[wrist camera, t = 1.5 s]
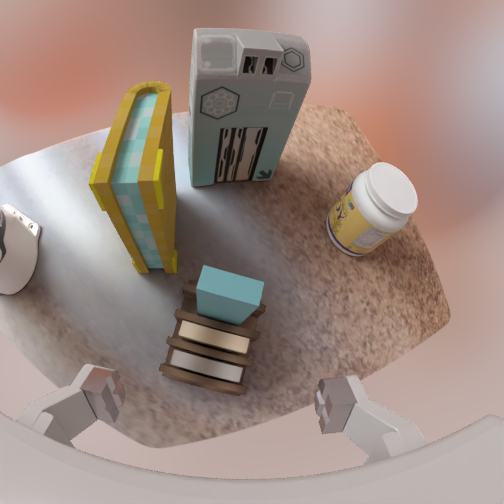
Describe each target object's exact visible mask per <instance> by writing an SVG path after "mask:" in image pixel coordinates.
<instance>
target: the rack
mask: <svg viewBox="0 0 504 504" xmlns="http://www.w3.org/2000/svg"><path fill="white" fill-rule="evenodd" d="M197 284H198V282H196V281H192V280H190V281H189V284H188V283H184V286H183V293H184V300H183V303H182V307H181V310H178V309H176V311H175V315H174V316H175V318H176V320H177V323H176V327H175V330H174V334H173V337H169V336H168V339H167V342H166V343H167V344H169V345H170V348H169V352H168V355H167V359H166V363H164V364H160V368H159V371H162V372H163V374H162V376H165V377H168V378H171V379H175V380H178V381H181V382H185V383H188V384H192V385H195V386H199V387H203V388H206V389H210V390H214V391H218V392H223V393H227V394H231V395H236V396H239V393H244V394H246V390H247V387H246V386H244V385H242V381H243V377H244V373H245V369H246V366H252V365H253V361H254V360H253V359H249V358H248V356H249V352H250V348H251V344H252V341H255V340H257V339H259V335H260V332H257V331H255V326H256V322H257V318H258V317H259V316H260V315H261V314H263V313H264V312H265V308H266V305H263V304H261V300H260V305H259V307H258V308H257V309H256V310H255V311H254V312H252V313H251V314H250V315H249V316H248V317H247V318H246V319H245V320H244V321H243V322H242V323H241V324H240V325H239V326H234V325H230V324H226V323H223V322H219V321H215V320H212V319H208V318H205V317H201V316H198V312H197V294H196V287H197ZM183 320H184V321H187V322H190V323H194V324H197V325H201V326H204V327H208V328H211V329H215V330H218V331H222V332H226V333H229V334H233V335H237V336H241V337H245V338H249V339H250V340H249V344H248V348H247V352H246V353H245V354H240V355H238V354H234V353H230V352H226V351H223V350H219V349H215V348H211V347H208V346H204V345H201V344H197V343H194V342H190V341H187V340H184V339H182V338H181V337H180V336H179V335H178V334H179V331H180V327H181V324H182V321H183ZM174 349H175V350H178V351H182V352H185V353H188V354H192V355H195V356H198V357H202V358H206V359H209V360H213V361H217V362H221V363H225V364H229V365H233V366H237V367H241V368H243V369H242V373H241V377H240V381H239V382H235V381H231V380H227V379H223V378H218V377H215V376H211V375H207V374H203V373H200V372H196V371H192V370H189V369H186V368H182V367H179V366H176V365H172V364H170V363H171V360H172V356H173V352H174Z"/></svg>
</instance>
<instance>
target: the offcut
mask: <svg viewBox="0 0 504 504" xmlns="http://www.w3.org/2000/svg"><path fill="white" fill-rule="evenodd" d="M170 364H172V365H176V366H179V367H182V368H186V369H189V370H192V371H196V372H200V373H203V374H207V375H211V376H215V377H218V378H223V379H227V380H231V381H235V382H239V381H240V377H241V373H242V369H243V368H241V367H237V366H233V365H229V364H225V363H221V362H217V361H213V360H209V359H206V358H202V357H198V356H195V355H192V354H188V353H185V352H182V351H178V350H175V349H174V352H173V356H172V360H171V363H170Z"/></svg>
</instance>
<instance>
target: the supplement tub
mask: <svg viewBox="0 0 504 504" xmlns="http://www.w3.org/2000/svg"><path fill="white" fill-rule="evenodd" d="M417 203H418V199H417V194H416V191H415V189H414V187H413V185H412V183H411V182H410V180H409V179H408V178H407V176H406V175H405V174H404V173H402V172H401V171H400V170H399V169H398V168H396V167H394V166H393V165H390V164H388V163H383V162H380V163H376V164H374V165H373V166H372V167H371V168H370V169H368V171H364V172H362V173H361V174H359V175H358V176H357V177H356V178H355V180H354V181H353V182H352V184H351V185H350V186H349V187H348V189H347V190H346V191H345V192H344V194H343V195H342V196H341V197H340V199H339V200H338V201H337V202H336V204H335V205H334V206H333V207H332V208H331V210H330V211H329V213H328V216H327V221H326V225H327V231H328V234H329V236H330V238H331V240H332V242H333V243H334V244H335V245H336V246H337V247H338V248H339V249H340V250H341V251H343V252H344V253H346V254H349V255H352V256H363V255H366V254H368V253H370V252H371V251H372V250H374V249H375V248H376V247H378V246H379V245H381V244H382V243H383V242H385V241H386V240H387V239H389V238H390V237H391V236H393V235H394V234H395V233H396V232H398V231H399V230H401V229H402V228H403V227H404V226H405V225H406V223H407V222H408V219H409V216H410V215H411V214H412V213H413V212H414V211H415V209H416V208H417Z"/></svg>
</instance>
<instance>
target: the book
mask: <svg viewBox="0 0 504 504" xmlns="http://www.w3.org/2000/svg"><path fill="white" fill-rule="evenodd" d="M89 186H90V188H91V190H92V191H93V193H94V195H95V197H96V199H97V201H98V203H99V205H100V207H101V209H102V211H107V213H108V215H109V217H110V219H111V221H112V223H113V225H114V227H115V228H116V230H117V232H118V234H119V236H120V238H121V239H122V241H123V243H124V245H125V247H126V248H127V250H128V252H129V254H130V255H131V257H132V259H133V261H132V263H133V265H134V267H135V268H136V270H137V272H138V273H149V268H164V270H165V273H177V250H175V226H176V207H177V195H176V183H175V170H174V155H173V136H172V109H171V88H170V86H169V85H168V84H166V83H164V82H159V81H149V82H143V83H140V84H137V85H135V86H133V87H131V88H130V89H129V90H128V91H127V92H126V94H125V96H124V98H123V100H122V103H121V105H120V107H119V110H118V112H117V115H116V117H115V120H114V122H113V125H112V127H111V130H110V133H109V135H108V138H107V141H106V144H105V147H104V149H103V152H102V153H98V155H97V158H96V161H95V164H94V167H93V171H92V174H91V177H90V181H89Z"/></svg>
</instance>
